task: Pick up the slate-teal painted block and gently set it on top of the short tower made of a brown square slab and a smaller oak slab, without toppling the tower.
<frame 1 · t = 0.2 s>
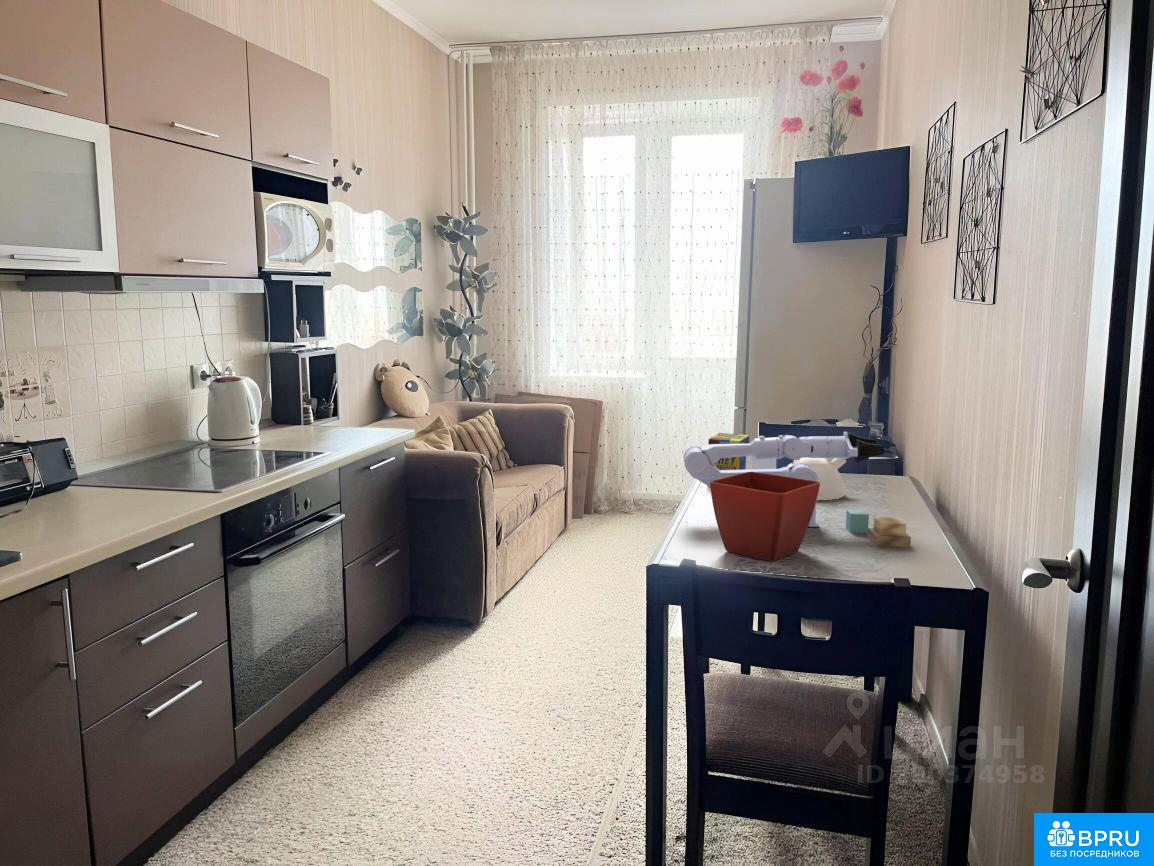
hand: (880, 446, 222), 21 cm above the table, tool horizontal, fingers open, 7 cm apart
protein box: (728, 483, 281), on the table
kettle: (810, 494, 264), on the table
oak slab: (889, 532, 208), point 2 cm above the table, touching brown square slab
brown square slab: (888, 544, 209), on the table, touching oak slab
teal block: (856, 530, 220), on the table
milk carton: (759, 505, 249), on the table
plant pot: (762, 552, 200), on the table
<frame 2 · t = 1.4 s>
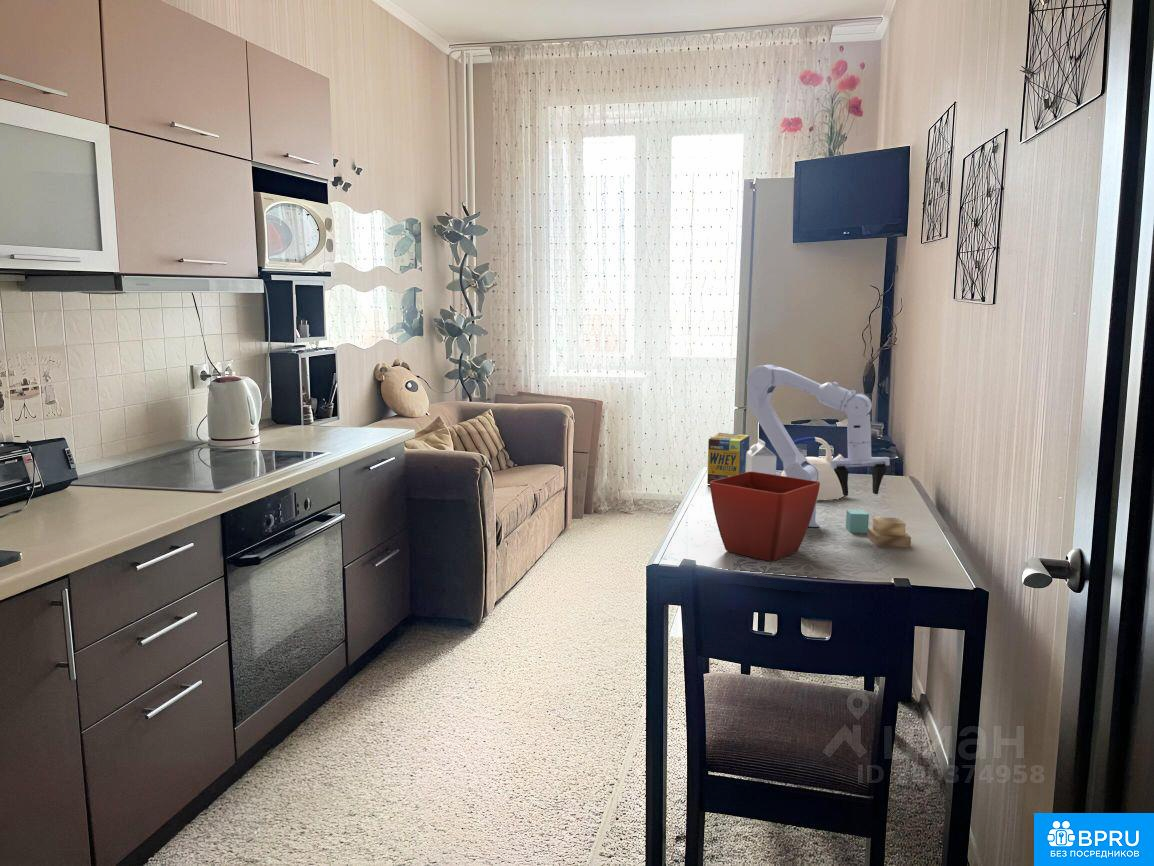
hand: (860, 494, 218), 10 cm above the table, tool pointing down, fingers open, 7 cm apart
nothing on the table moved.
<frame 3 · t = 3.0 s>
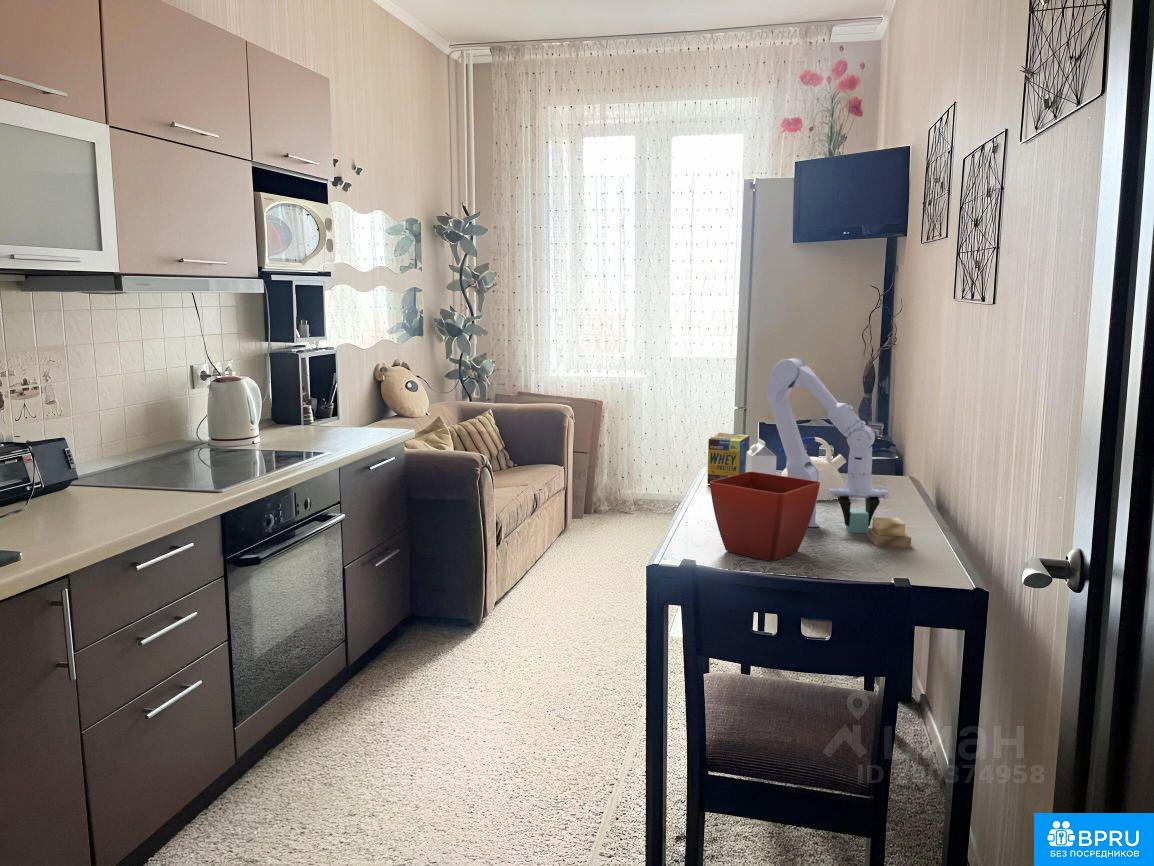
hand: (857, 525, 220), 1 cm above the table, tool pointing down, fingers closed on teal block, 4 cm apart
oak slab: (888, 532, 208), point 2 cm above the table
brown square slab: (888, 544, 209), on the table
teal block: (856, 530, 220), on the table, touching gripper
everything else where it was.
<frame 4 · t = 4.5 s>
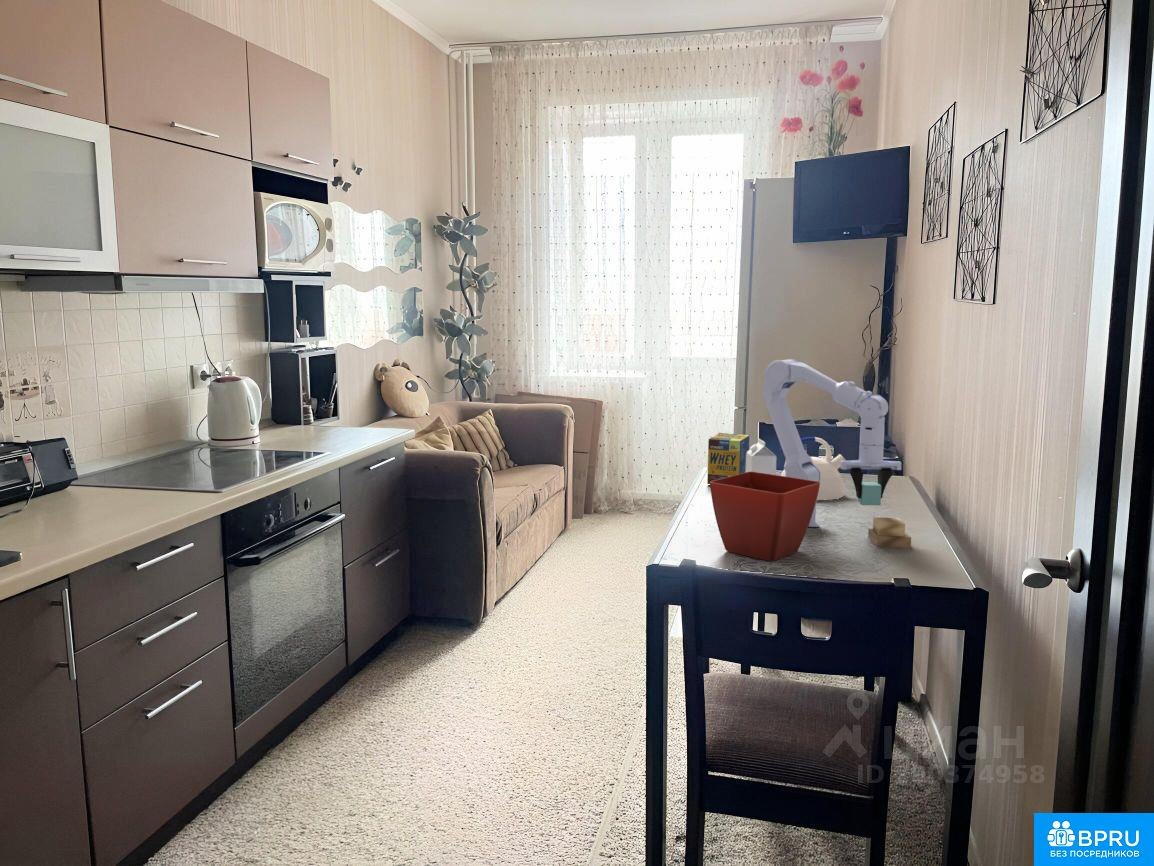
hand: (869, 497, 215), 10 cm above the table, tool pointing down, fingers closed on teal block, 4 cm apart
teal block: (868, 503, 215), point 8 cm above the table, touching gripper
everything else where it was.
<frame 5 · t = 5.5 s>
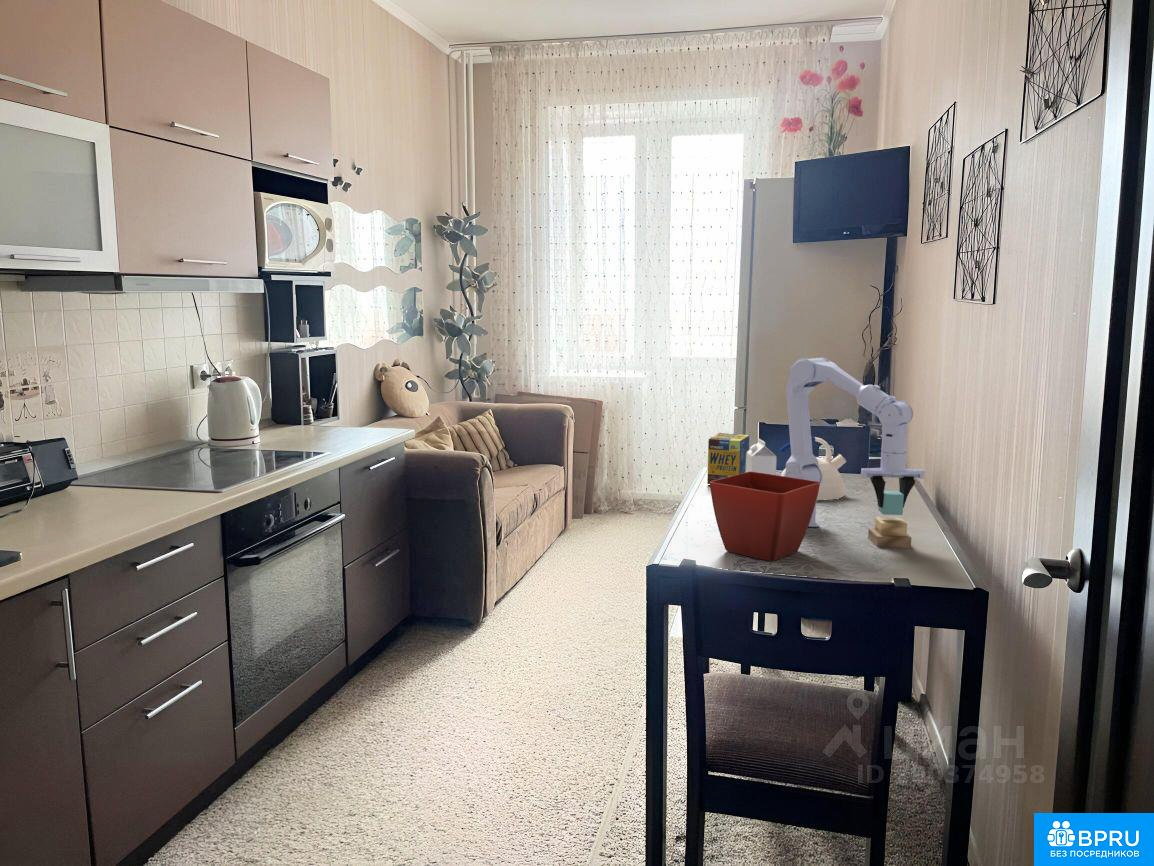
hand: (890, 506, 207), 9 cm above the table, tool pointing down, fingers closed on teal block, 4 cm apart
oak slab: (890, 532, 208), point 2 cm above the table, touching brown square slab
brown square slab: (888, 544, 208), on the table, touching oak slab
teal block: (890, 512, 208), point 7 cm above the table, touching gripper
everything else where it was.
when the fingers open (9 cm above the table, at t = 5.8 s): teal block drops 2 cm, point 6 cm above the table.
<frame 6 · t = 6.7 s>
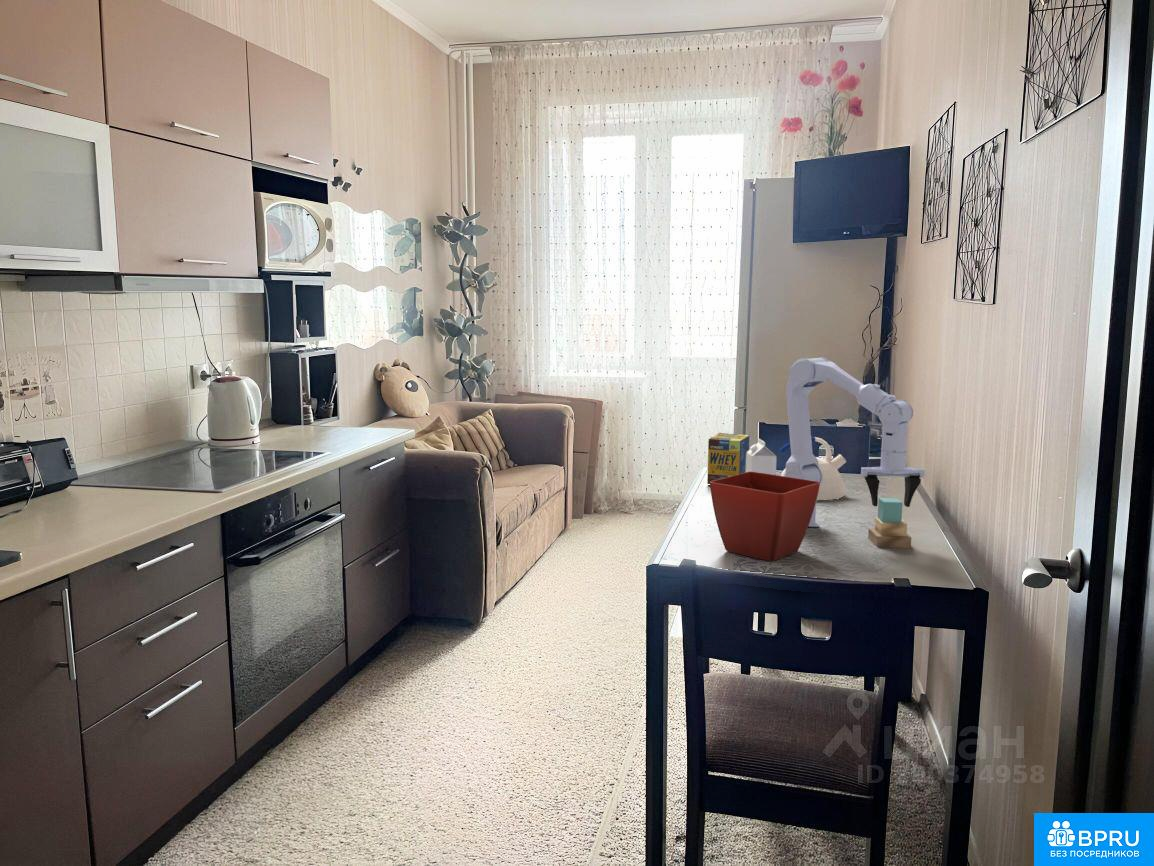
hand: (890, 505, 207), 9 cm above the table, tool pointing down, fingers open, 7 cm apart
teal block: (889, 520, 208), point 6 cm above the table
everything else where it was.
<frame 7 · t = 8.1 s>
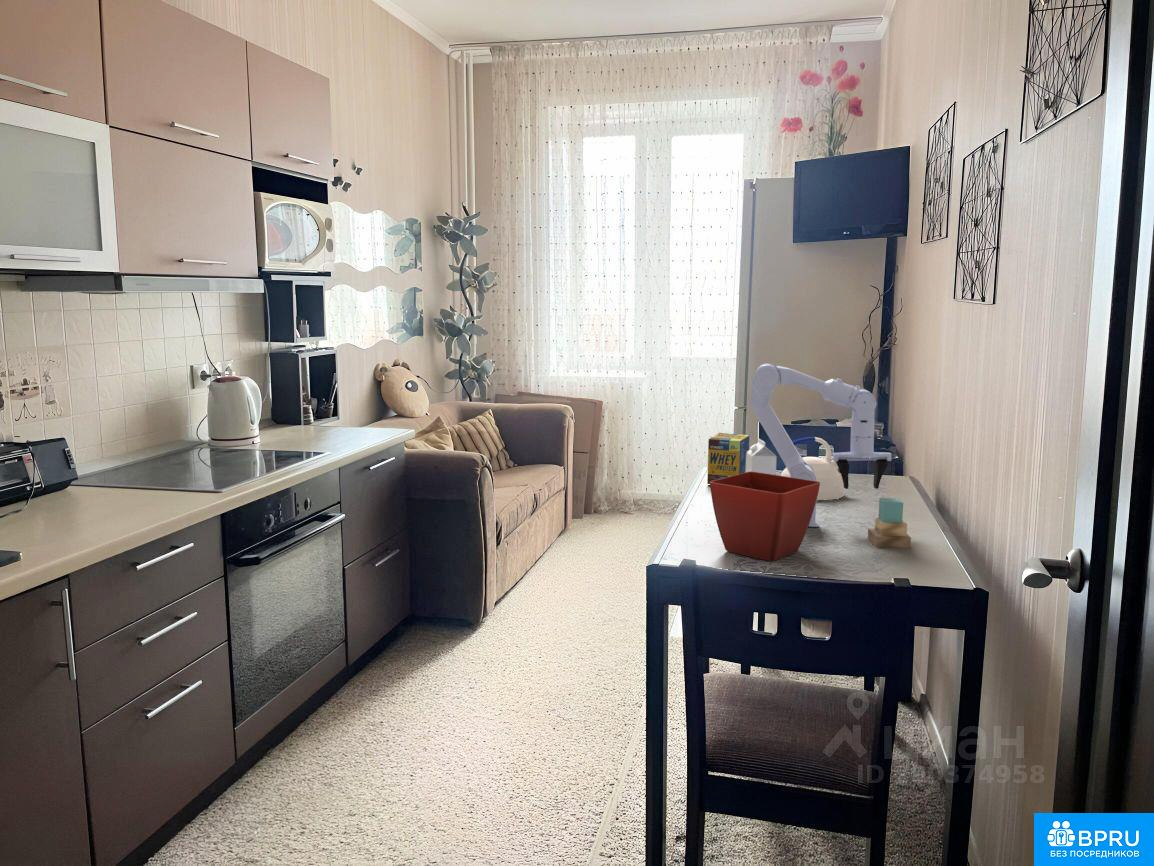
hand: (860, 488, 222), 10 cm above the table, tool pointing down, fingers open, 7 cm apart
nothing on the table moved.
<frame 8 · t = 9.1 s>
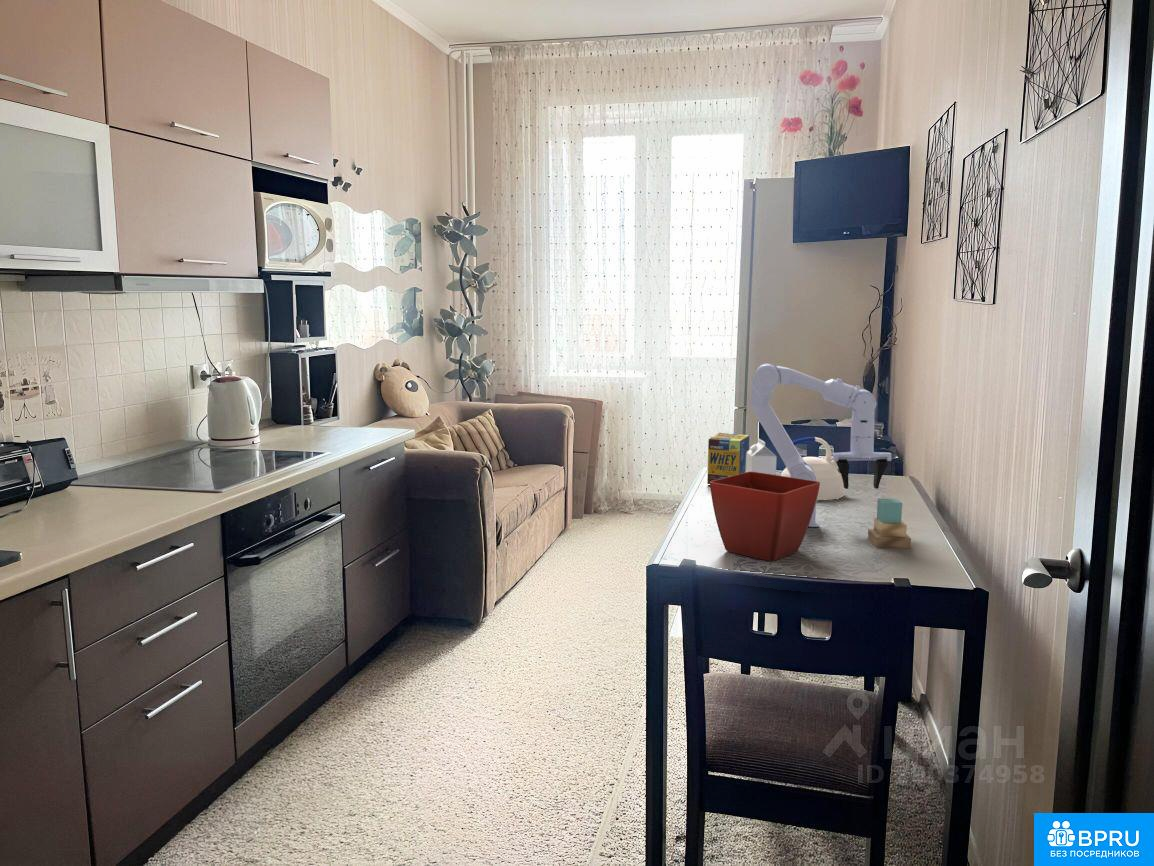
hand: (860, 488, 222), 10 cm above the table, tool pointing down, fingers open, 7 cm apart
oak slab: (889, 533, 208), point 2 cm above the table, touching teal block
brown square slab: (888, 545, 208), on the table
teal block: (888, 520, 208), point 5 cm above the table, touching oak slab
everything else where it was.
at the end: teal block 0.4 cm off-centre on the brown square slab, point 6.0 cm above the brown square slab's base; oak slab 0.1 cm off-centre on the brown square slab, point 3.0 cm above the brown square slab's base; teal block tilted 1° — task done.
